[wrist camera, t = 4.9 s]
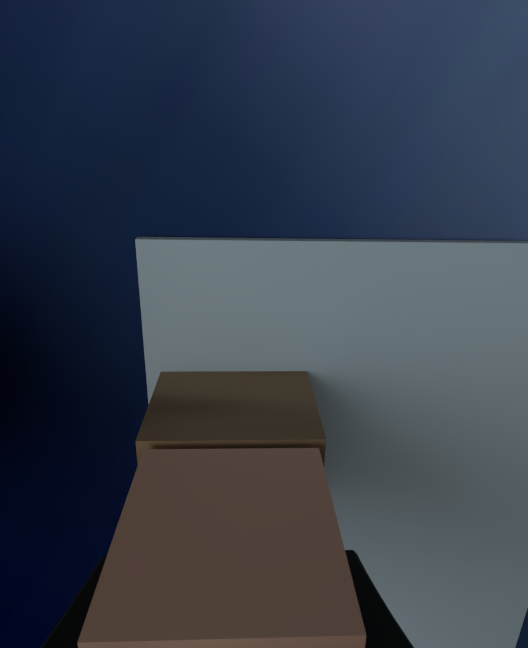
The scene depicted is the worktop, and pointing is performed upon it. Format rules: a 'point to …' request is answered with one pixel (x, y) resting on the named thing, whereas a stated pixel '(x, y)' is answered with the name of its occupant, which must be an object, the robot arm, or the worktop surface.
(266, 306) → the mat
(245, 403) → the walnut block
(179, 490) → the terracotta block
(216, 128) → the worktop surface
